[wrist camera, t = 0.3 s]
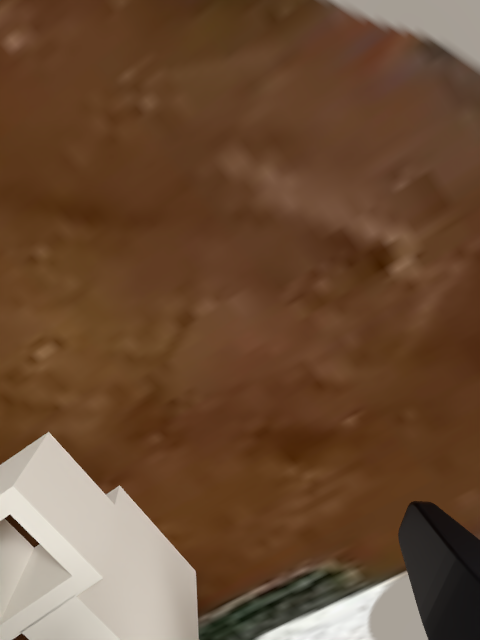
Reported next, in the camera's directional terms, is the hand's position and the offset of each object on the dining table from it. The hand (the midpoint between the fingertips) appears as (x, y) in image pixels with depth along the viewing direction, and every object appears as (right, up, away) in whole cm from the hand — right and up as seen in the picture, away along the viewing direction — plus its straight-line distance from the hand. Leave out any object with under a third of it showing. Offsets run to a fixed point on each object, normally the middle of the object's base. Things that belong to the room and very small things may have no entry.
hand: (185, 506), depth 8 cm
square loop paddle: (-6, -7, +16) cm, 19 cm away
